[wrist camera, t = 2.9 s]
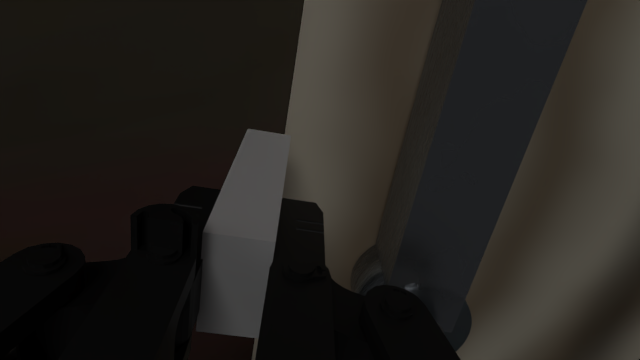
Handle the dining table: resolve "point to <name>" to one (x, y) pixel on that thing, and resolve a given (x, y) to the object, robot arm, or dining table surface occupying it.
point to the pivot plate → (526, 191)
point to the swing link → (465, 148)
